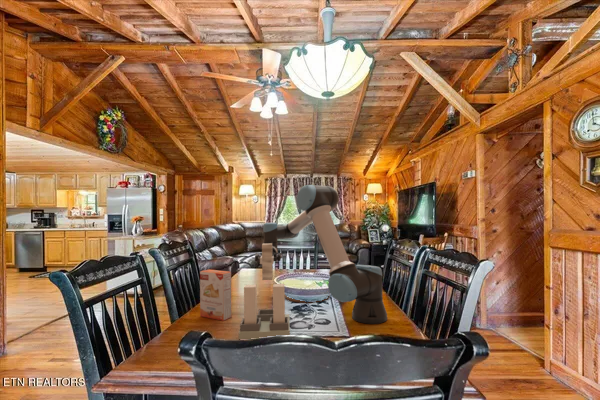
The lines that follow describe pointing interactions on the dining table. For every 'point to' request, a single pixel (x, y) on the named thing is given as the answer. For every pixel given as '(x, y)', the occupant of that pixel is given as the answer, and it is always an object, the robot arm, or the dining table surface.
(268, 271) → the loose stool leg
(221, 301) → the cracker box
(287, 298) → the trivet
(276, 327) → the stool seat
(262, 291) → the dining table surface
